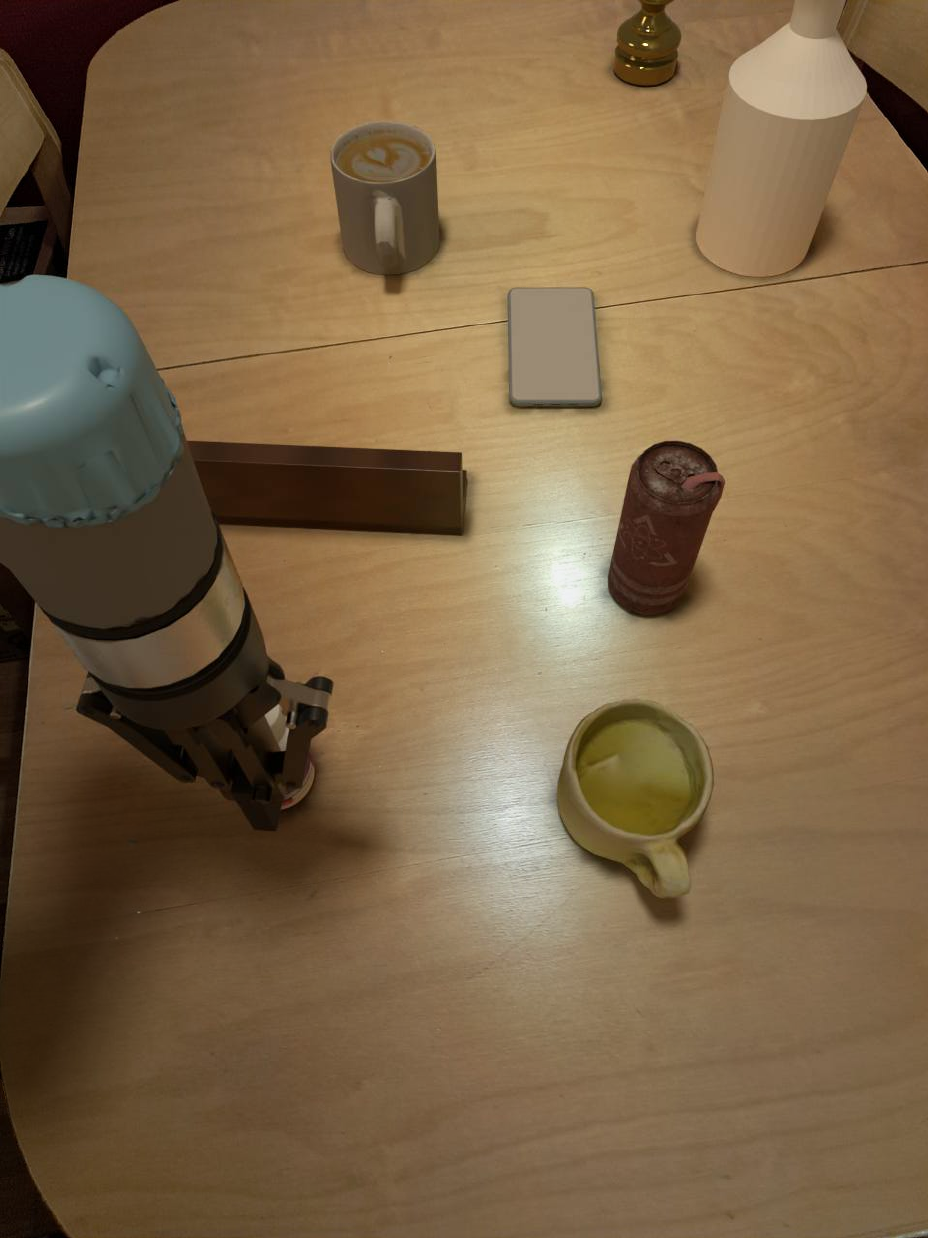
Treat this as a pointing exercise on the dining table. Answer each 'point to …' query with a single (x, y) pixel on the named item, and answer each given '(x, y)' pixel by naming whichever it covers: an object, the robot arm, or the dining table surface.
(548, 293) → the smartphone
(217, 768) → the robot arm
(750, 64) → the bottle
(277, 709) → the pill bottle
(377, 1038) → the dining table surface
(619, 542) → the can
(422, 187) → the coffee mug
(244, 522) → the brown long rectangular block
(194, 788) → the dining table surface
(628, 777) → the mug
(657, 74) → the salt shaker
